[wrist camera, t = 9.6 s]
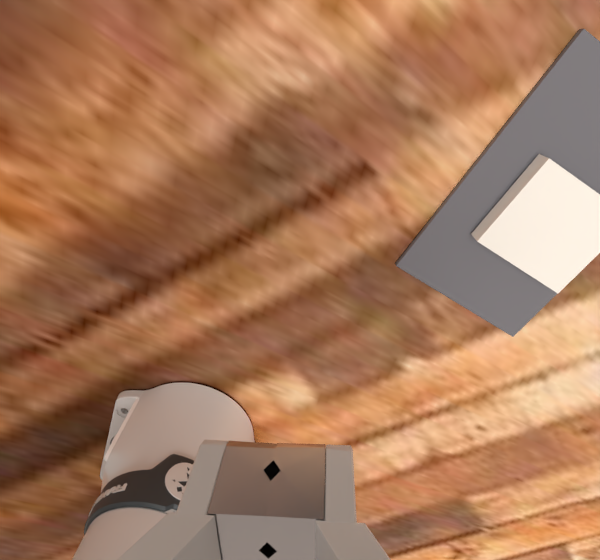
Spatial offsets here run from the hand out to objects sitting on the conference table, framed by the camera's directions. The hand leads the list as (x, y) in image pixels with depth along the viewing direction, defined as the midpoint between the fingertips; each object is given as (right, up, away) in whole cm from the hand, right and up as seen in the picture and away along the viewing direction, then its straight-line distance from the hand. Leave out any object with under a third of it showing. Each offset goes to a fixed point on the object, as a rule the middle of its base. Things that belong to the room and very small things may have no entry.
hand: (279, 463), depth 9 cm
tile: (+17, +10, +26) cm, 33 cm away
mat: (+21, +10, +28) cm, 37 cm away
